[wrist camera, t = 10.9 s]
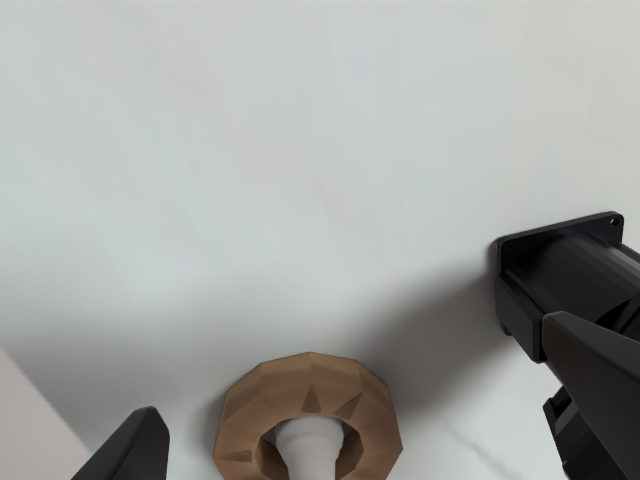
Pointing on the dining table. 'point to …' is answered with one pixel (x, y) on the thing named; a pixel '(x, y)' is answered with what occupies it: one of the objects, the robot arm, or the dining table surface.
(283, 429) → the rook chess piece
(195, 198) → the dining table surface
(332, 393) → the walnut bead ring
